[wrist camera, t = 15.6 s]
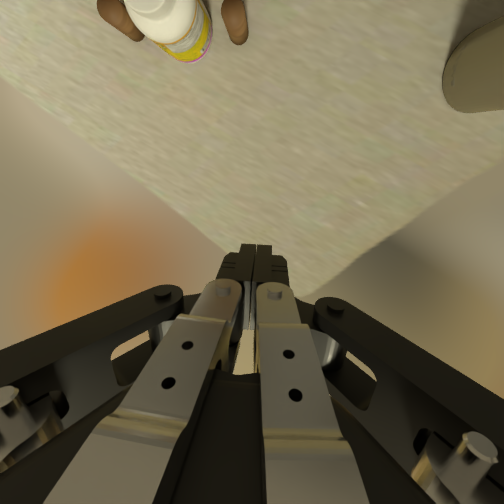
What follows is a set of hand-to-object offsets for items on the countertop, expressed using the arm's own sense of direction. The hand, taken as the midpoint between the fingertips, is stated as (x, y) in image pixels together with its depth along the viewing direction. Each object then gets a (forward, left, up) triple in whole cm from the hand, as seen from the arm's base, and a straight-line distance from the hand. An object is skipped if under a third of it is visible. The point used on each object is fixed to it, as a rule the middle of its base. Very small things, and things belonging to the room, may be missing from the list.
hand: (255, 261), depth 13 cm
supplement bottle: (+11, -17, -29) cm, 35 cm away
